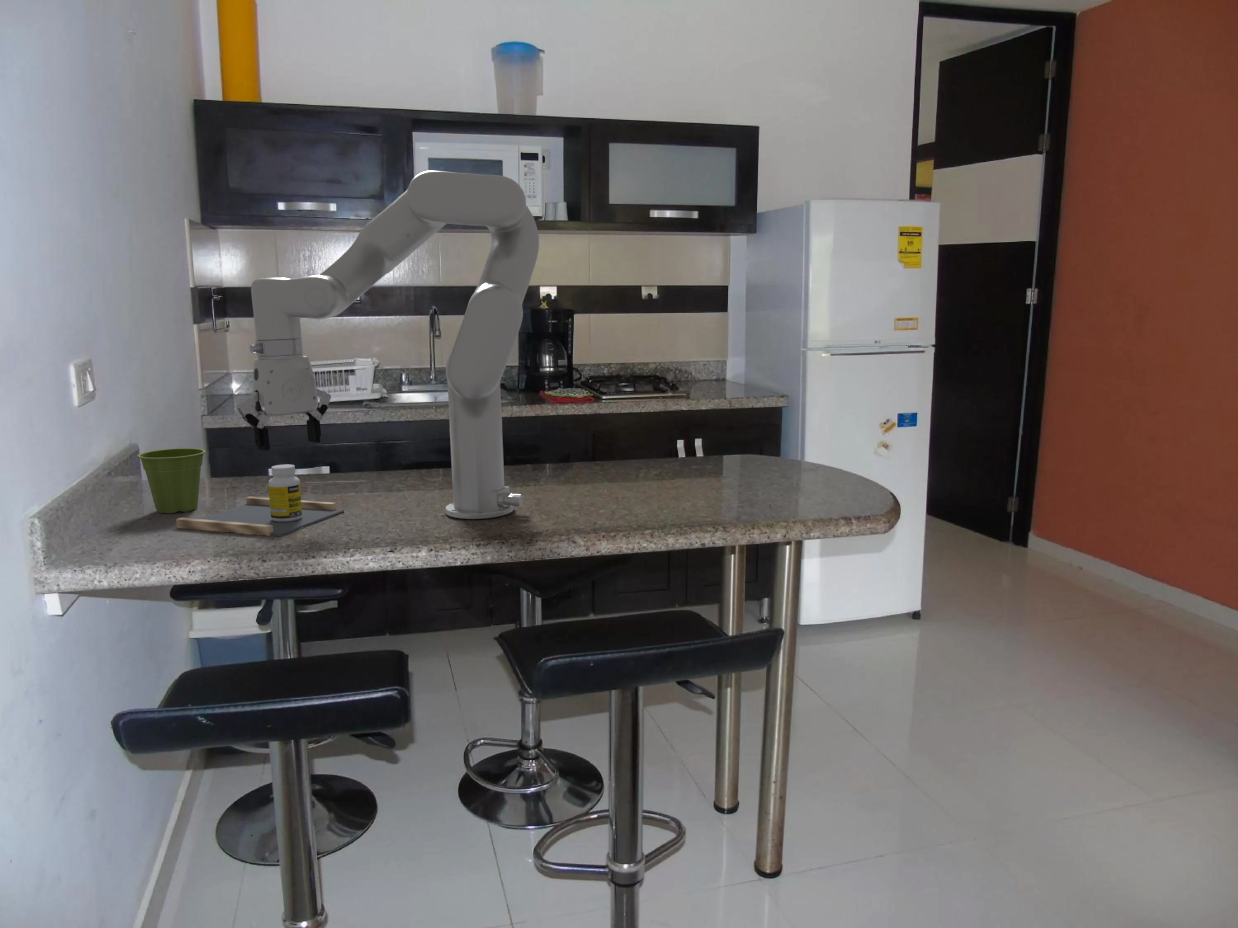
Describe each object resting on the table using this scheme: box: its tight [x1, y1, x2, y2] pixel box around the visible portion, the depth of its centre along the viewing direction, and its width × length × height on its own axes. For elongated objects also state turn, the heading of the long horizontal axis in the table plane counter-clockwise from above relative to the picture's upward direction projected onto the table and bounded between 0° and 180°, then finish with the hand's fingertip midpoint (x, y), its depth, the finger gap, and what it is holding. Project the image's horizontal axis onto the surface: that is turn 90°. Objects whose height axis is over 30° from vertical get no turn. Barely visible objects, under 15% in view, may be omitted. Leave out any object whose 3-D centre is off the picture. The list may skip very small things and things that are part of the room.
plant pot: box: [136, 447, 207, 514], centre depth 177 cm, size 12×12×11 cm
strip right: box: [245, 496, 337, 510], centre depth 178 cm, size 20×1×2 cm, turn 71°
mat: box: [199, 503, 345, 537], centre depth 169 cm, size 22×18×1 cm
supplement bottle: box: [268, 463, 302, 522], centre depth 167 cm, size 5×5×10 cm
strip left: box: [175, 517, 273, 537], centre depth 161 cm, size 20×1×2 cm, turn 71°
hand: (289, 445), depth 164 cm, fingers open, 9 cm apart
